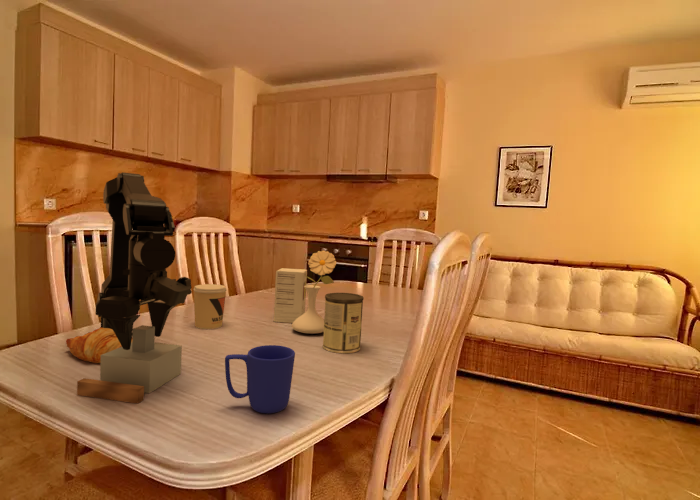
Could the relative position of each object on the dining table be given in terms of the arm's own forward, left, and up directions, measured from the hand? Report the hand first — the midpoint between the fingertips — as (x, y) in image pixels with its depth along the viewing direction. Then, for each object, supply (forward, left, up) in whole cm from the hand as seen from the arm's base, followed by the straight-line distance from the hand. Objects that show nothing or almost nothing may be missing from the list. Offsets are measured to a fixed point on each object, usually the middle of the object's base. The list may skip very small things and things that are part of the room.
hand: (142, 342), depth 80 cm
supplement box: (+12, +58, -8) cm, 60 cm away
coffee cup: (-8, +41, -8) cm, 43 cm away
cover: (0, 0, -8) cm, 8 cm away
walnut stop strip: (0, -9, -8) cm, 11 cm away
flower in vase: (+23, +46, -8) cm, 52 cm away
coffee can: (+34, +34, -8) cm, 49 cm away
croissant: (-15, +8, -8) cm, 19 cm away
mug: (+26, -5, -8) cm, 27 cm away
